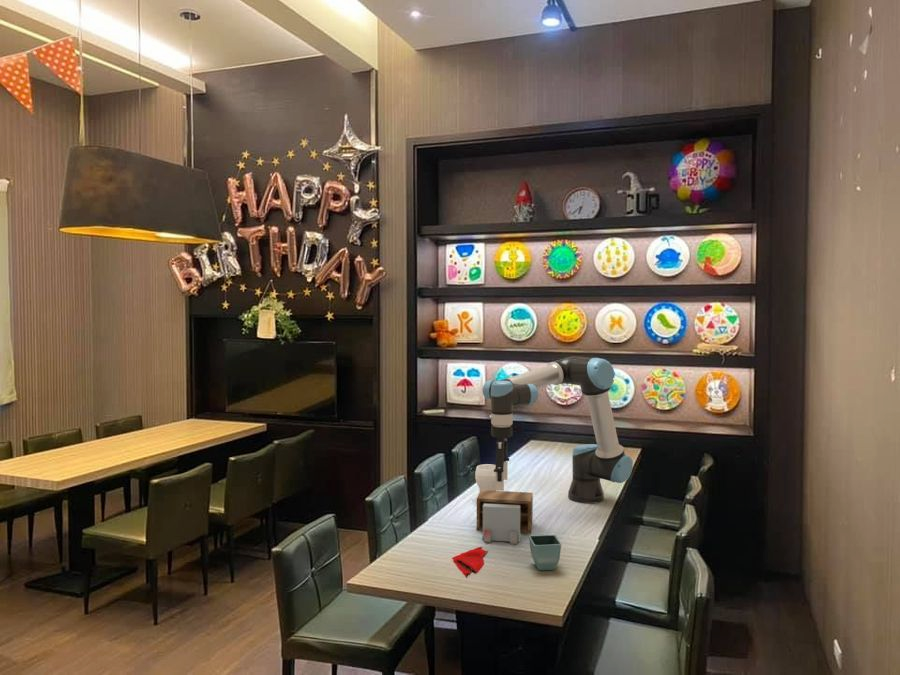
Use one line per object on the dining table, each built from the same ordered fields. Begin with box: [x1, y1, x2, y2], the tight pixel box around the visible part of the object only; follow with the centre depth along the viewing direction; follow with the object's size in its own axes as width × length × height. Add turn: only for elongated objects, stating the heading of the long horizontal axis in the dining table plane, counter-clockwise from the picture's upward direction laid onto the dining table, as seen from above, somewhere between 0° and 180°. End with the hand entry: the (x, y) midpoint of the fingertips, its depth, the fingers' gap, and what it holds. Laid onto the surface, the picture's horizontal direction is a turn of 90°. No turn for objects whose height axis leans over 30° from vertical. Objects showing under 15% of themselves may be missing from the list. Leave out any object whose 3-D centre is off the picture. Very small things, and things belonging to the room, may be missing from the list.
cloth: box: [451, 546, 488, 579], centre depth 215 cm, size 26×14×2 cm, turn 155°
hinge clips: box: [483, 529, 518, 546], centre depth 236 cm, size 11×12×4 cm
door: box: [482, 503, 521, 543], centre depth 234 cm, size 13×4×12 cm, turn 80°
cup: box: [474, 463, 497, 492], centre depth 277 cm, size 11×11×15 cm
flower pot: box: [528, 534, 562, 571], centre depth 210 cm, size 9×9×9 cm
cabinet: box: [476, 490, 534, 534], centre depth 247 cm, size 20×11×12 cm, turn 80°
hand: (501, 484), depth 232 cm, fingers open, 13 cm apart
